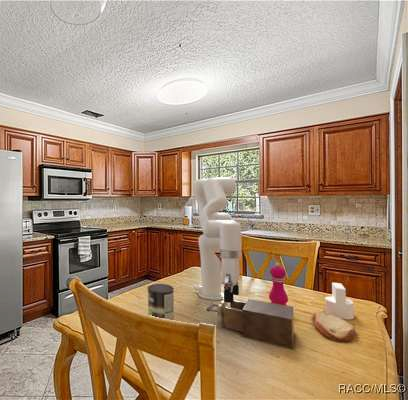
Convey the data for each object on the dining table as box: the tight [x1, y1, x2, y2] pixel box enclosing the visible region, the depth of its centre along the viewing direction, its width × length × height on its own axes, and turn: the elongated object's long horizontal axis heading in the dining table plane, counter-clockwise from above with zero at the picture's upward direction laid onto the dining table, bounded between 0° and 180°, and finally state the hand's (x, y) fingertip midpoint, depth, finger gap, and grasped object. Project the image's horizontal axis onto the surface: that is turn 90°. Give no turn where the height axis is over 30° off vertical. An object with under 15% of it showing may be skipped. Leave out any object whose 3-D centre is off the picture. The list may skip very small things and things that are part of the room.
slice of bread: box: [313, 310, 357, 343], centre depth 101 cm, size 18×18×4 cm
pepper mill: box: [268, 262, 289, 306], centre depth 121 cm, size 7×7×20 cm
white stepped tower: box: [324, 282, 355, 320], centre depth 113 cm, size 9×9×12 cm
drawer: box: [205, 298, 247, 332], centre depth 104 cm, size 18×11×8 cm, turn 54°
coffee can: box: [147, 283, 175, 321], centre depth 109 cm, size 10×10×14 cm
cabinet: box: [242, 298, 295, 350], centre depth 97 cm, size 15×13×10 cm
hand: (231, 298), depth 105 cm, fingers open, 9 cm apart
